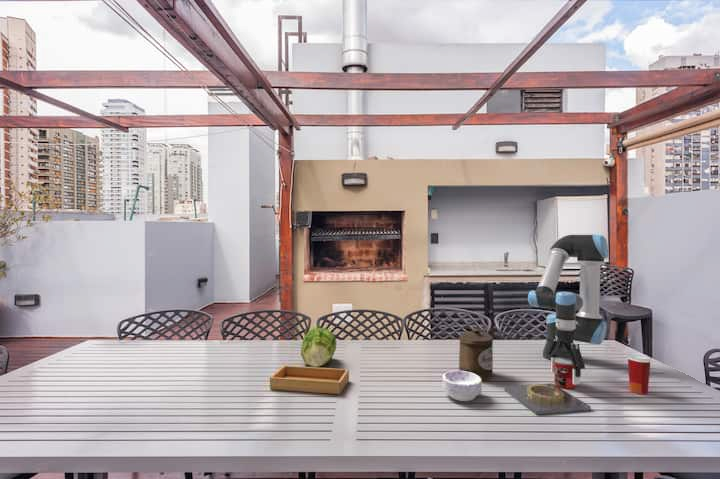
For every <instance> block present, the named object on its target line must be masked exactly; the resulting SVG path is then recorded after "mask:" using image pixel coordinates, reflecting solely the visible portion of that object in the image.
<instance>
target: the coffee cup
mask: <svg viewBox="0 0 720 479" xmlns="http://www.w3.org/2000/svg"><path fill="white" fill-rule="evenodd" d="M626 359H627V367H628V368H627V369H628V387H629V392H632V393H633V394H637V395H641V396H642V395H644V396H645V395H648V392H649V383H650V374H651V372H650V371H651V363H652V359H651V357H650V356H648V355H646V354H643V353H638V352H629V353H628V354H627V356H626Z"/></svg>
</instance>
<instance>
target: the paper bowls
mask: <svg viewBox="0 0 720 479" xmlns="http://www.w3.org/2000/svg"><path fill="white" fill-rule="evenodd" d="M482 383H483V381H482V380H481V378H480V377H479V376H478V375H476V374H474V373H471V372H467V371H459V370H450V371H447V372H445V373H443V374H442V390H443V391H444V392H445V393H447V394H448V396H449V398H452V399H453V400H456V401H460V402H470V401H473V400H474V399H475V398H476V397H477V396H479V395H481V393H482V390H483V387H482V386H483V385H482Z"/></svg>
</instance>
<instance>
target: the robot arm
mask: <svg viewBox="0 0 720 479" xmlns="http://www.w3.org/2000/svg"><path fill="white" fill-rule="evenodd" d="M608 257H609V246H608V241H607V238H606V237H605V236H604V235H602V234H568V235H564V236H562V237H561V238H559V239H558V240H556V241H555V242H554V243H553V244H552V246H551V247H550V248H549V251H548V260H547V263H546V265H545V268H544V270H543V272H542V275H541V277H540V281H539V283H538V285H537V288H536V290H530V291H529V292H528V295H527V301H528V304H529V305H530V306H532V307H535V308H541V309H542V308H544V309H552V310H555V312H554V313H550V314H547V316H546V323H545V324H546V326H545V327H546V332H545V333H546V338H545V340H546V342H545V345H544V347H543V349H542V357H543V358H545V359H547V360H550V364H551V365H550V366H551V367H550V372H551V373H554V374H555V359H556V358H567V359H571V361H572V364H573V366H574V368H573V384H574V385H575V386H576V385H580V384H581V374H582V373H581V372H582V370H585V369H586V365H585V363H584V360H583V357H582V352H581V350H580V348H581V347H580V344H579V343H585V344H586V343H587V344H590V345H601V344H603V343H604V340H605V337H606V333H607V326H608V325H607V322H606V321H605V320H603V319H604V317H603V316H602V315H601V314H600V294H601V292H600V291H601V290H600V289H601V266H602V265H603V264H604V263H605V260H606V259H608ZM570 258H576V259H577V260H576V261H577V262H578V263H579V265H580V266H579V267H580V268H579V270H580V274H579V294H578V293H574V292H571V291H559V292H555V291H556V288H557V286H558V284H559V280H560V278H561V275H562V273H563V272H562V271H563V269H564V266H565V264H566V262H567V261H568V260H569V259H570ZM576 312H577V313H576ZM574 341H575V342H579V343H574Z"/></svg>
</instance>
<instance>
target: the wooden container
mask: <svg viewBox="0 0 720 479" xmlns="http://www.w3.org/2000/svg"><path fill="white" fill-rule="evenodd" d="M480 331H481V330H480V328H479V327H476V326H475V327H473V328H471V331H467V332H466V331H465V332H462V333H460V335H459V354H458V355H459V360H458V371H467V372H471V373H474V374H476V375H478V376H479V377H480V378H481V380H482V382H483V381H489V380H491V379H492V378H493V367H494V364H493V363H494V356H493V355H494V354H493V352H494V350H493V342H494V340H493V336H492V335H491V334H487V333H485V332H480Z"/></svg>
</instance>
